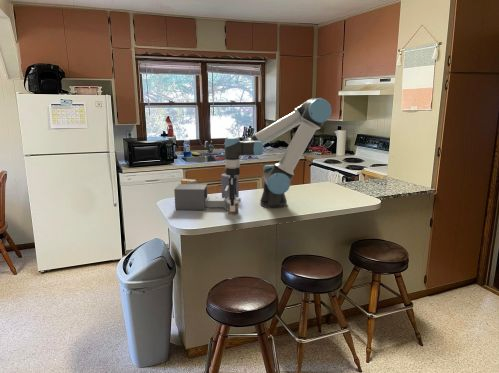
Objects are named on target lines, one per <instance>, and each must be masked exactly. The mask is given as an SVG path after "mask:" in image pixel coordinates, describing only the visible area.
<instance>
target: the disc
mask: <svg viewBox="0 0 499 373" xmlns="http://www.w3.org/2000/svg"><path fill="white" fill-rule="evenodd" d="M228 198H230V197H228ZM228 198H226V203H229V204H230V200H228ZM237 203H238V204H240V203H241V197H240V196H239V197H235V204H237Z"/></svg>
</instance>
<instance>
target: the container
mask: <svg viewBox="0 0 499 373" xmlns="http://www.w3.org/2000/svg"><path fill="white" fill-rule="evenodd" d="M229 177H230V175H226V174H225V173H222V174H220V178H221V179H220V181H221V184H220V185H221V198H225V189H226V186H229ZM236 177H237V181H236V193H237V195H236V197H239V198H240V195H239V191H240V190H239V187H240V186H239V175H236ZM229 197H230V188H229Z"/></svg>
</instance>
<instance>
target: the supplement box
mask: <svg viewBox="0 0 499 373" xmlns="http://www.w3.org/2000/svg"><path fill="white" fill-rule="evenodd" d="M180 184H197V179H190V178H183V179H180Z"/></svg>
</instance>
